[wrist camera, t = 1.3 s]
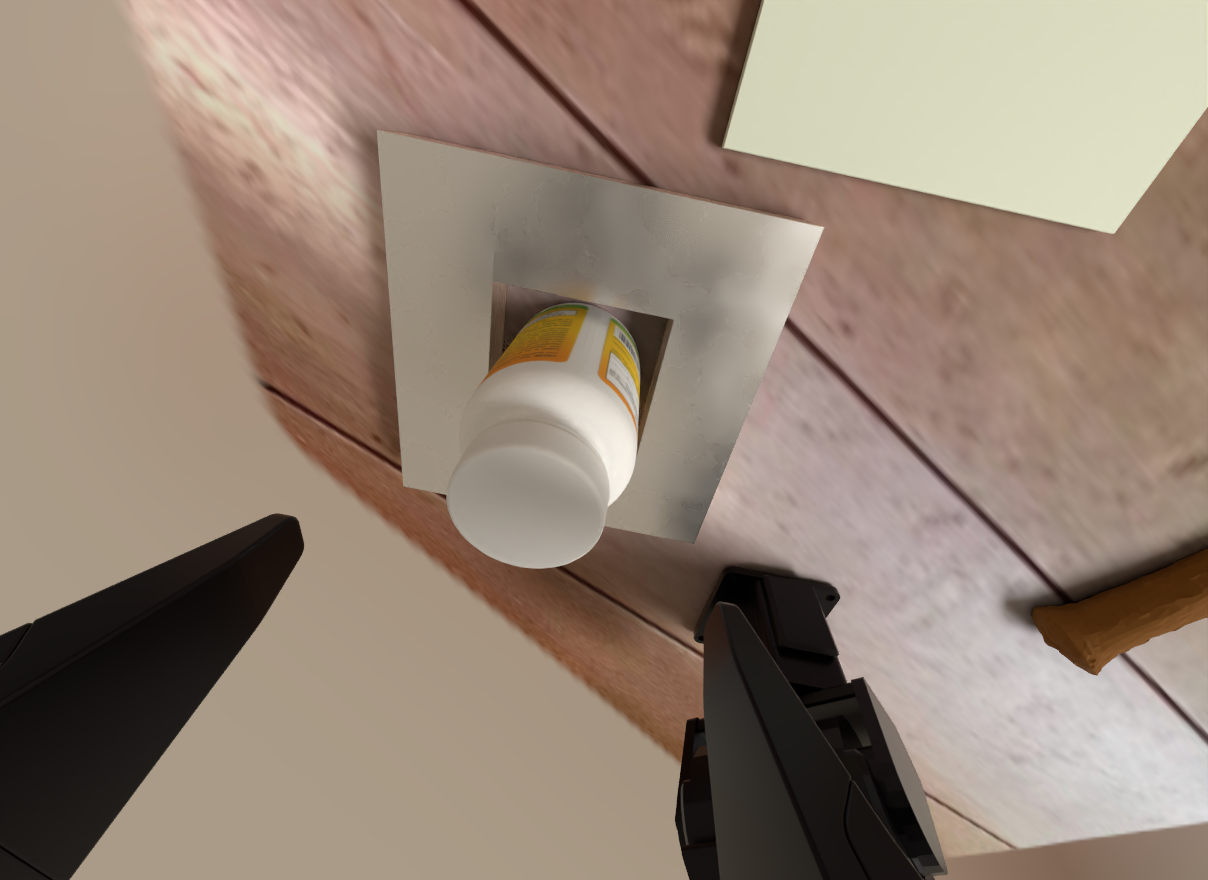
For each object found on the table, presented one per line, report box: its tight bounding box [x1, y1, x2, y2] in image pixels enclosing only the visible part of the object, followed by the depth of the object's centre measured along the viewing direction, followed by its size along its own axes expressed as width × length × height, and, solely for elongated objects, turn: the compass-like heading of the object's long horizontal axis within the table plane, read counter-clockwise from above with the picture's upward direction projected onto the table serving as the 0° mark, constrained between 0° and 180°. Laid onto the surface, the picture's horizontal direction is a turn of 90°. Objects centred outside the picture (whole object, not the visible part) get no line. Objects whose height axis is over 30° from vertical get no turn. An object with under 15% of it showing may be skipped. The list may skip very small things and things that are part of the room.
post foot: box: [377, 130, 824, 544], centre depth 18 cm, size 14×14×2 cm
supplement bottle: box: [446, 303, 640, 568], centre depth 15 cm, size 5×5×10 cm
